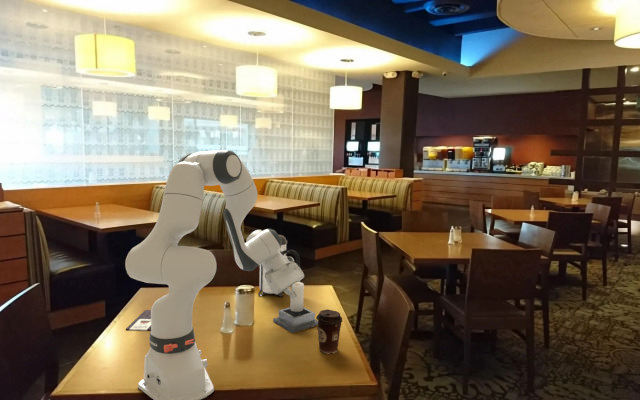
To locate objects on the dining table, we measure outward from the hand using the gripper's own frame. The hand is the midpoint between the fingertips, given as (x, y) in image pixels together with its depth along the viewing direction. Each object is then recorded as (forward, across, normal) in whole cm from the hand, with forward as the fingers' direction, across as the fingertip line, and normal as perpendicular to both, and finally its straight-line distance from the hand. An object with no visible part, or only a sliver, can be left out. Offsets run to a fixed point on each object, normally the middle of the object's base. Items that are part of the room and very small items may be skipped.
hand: (298, 294), depth 161 cm
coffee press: (-10, +26, +26) cm, 38 cm away
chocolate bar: (-28, -25, +45) cm, 59 cm away
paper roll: (+4, 0, +5) cm, 6 cm away
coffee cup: (+22, -15, -5) cm, 27 cm away
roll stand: (+8, 0, +8) cm, 11 cm away
